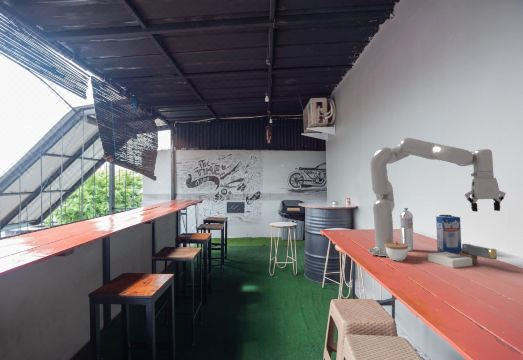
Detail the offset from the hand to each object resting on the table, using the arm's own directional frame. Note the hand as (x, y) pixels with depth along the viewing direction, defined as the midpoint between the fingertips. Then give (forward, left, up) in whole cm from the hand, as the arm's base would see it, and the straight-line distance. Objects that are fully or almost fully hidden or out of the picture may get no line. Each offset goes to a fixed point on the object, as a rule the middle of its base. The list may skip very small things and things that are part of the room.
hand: (485, 211), depth 139 cm
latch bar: (-5, 0, -21) cm, 21 cm away
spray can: (+13, +34, -26) cm, 45 cm away
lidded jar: (-32, +23, -26) cm, 47 cm away
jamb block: (-5, +6, -26) cm, 27 cm away
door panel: (-13, +9, -26) cm, 30 cm away
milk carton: (+7, +27, -26) cm, 38 cm away
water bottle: (-11, +39, -26) cm, 48 cm away
